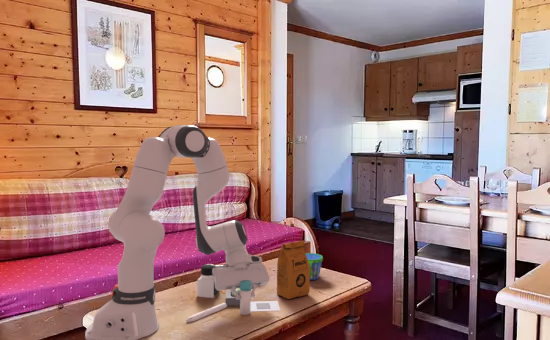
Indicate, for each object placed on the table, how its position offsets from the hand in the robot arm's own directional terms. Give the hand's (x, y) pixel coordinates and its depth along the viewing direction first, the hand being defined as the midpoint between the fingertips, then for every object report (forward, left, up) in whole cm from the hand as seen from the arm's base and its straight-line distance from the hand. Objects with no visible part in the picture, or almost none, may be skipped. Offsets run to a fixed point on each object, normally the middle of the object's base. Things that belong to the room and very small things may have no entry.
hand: (245, 298), depth 151 cm
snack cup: (+31, +37, -6) cm, 48 cm away
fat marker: (0, +1, -6) cm, 6 cm away
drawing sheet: (+7, +6, -6) cm, 11 cm away
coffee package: (+20, +17, -6) cm, 27 cm away
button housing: (-3, +12, -6) cm, 13 cm away
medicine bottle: (-14, +20, -6) cm, 25 cm away
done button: (-3, +12, -4) cm, 13 cm away
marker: (-14, 0, -6) cm, 15 cm away
